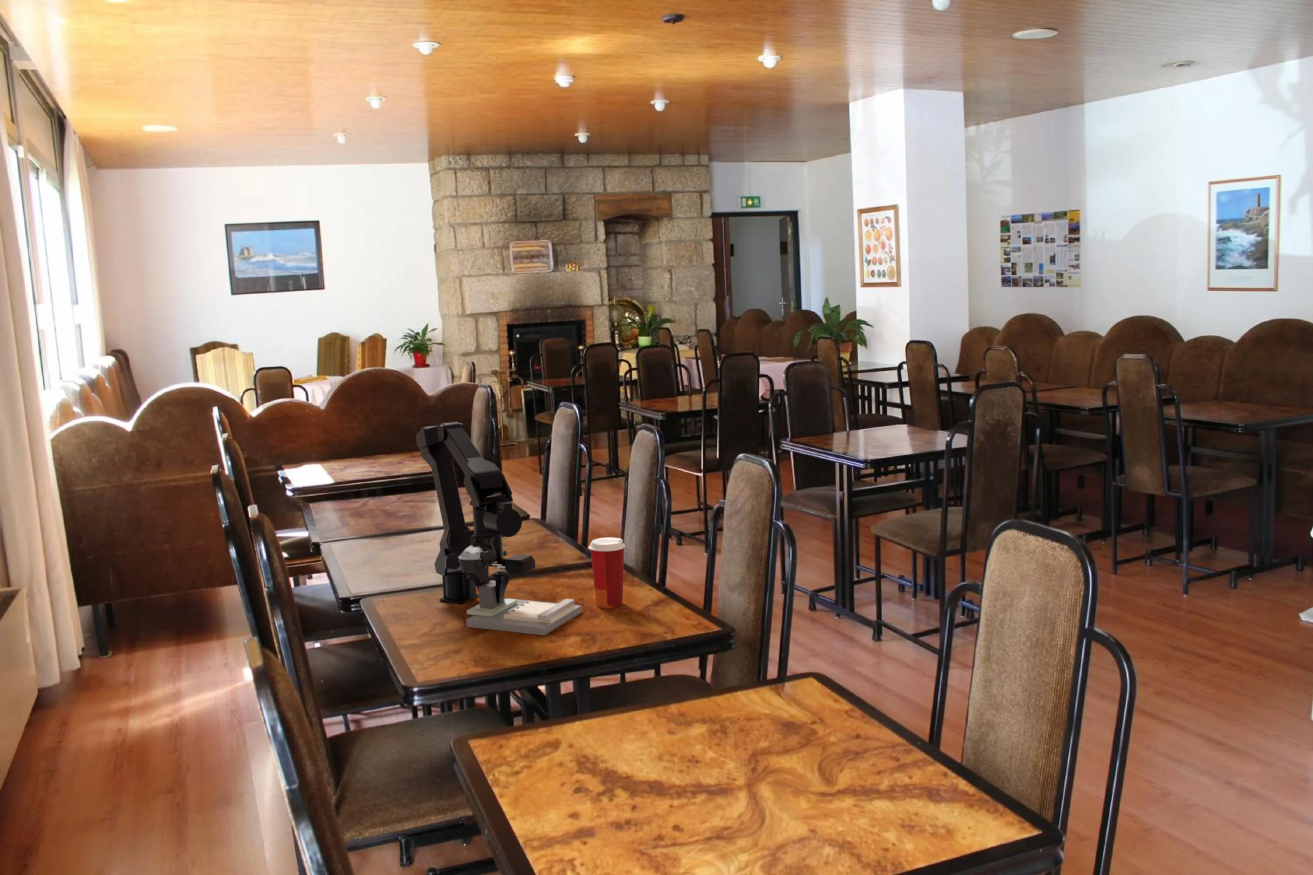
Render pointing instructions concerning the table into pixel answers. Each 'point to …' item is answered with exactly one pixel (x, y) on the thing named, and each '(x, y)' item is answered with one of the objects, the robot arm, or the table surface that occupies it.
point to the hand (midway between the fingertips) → (492, 602)
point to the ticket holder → (528, 617)
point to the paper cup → (608, 571)
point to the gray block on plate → (490, 601)
